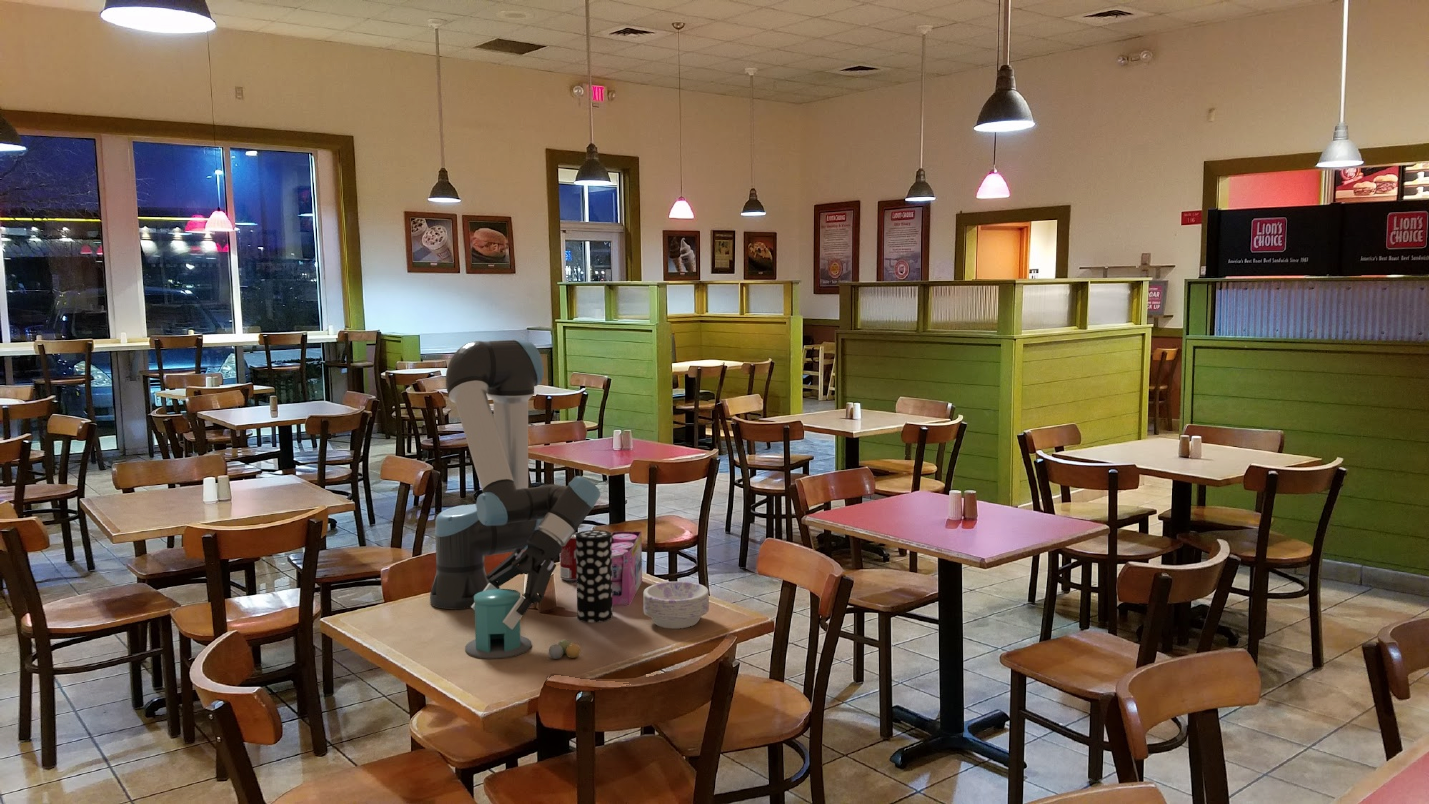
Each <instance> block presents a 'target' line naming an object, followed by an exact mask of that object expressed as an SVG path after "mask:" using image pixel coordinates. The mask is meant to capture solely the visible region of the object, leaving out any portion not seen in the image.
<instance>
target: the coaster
mask: <svg viewBox="0 0 1429 804" xmlns="http://www.w3.org/2000/svg"><path fill="white" fill-rule="evenodd" d="M464 647H465V648H464V650H465V653H466V654H467V655H468V656H470V657H473V658H477V659H483V660H501V659H507V658H512V657H517V656H520V655H522V654H525V653H526V651H527V650H528V651H529V650H530V649H531V648H532V641H531V639H530V638H527V637H525V636H522V635H521V641H520V647H518V648H515V649H512V650H510V651H507V652H506V651H504V639H491V640H490V652H489V653H488V652H484V651H481V650H478V649H476V638H475V639H473V640H471V641H469V642H468V643H466V645H465V646H464ZM528 651H527V652H528ZM524 652H525V653H524ZM519 654H520V655H519Z"/></svg>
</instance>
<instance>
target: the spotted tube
mask: <svg viewBox="0 0 1429 804" xmlns="http://www.w3.org/2000/svg"><path fill="white" fill-rule="evenodd" d="M576 533H577V534H576V573H577V581H576V617H577V620H579V621H580V622H585V623H601V622H606V621H609V620H611V619H612V618H613V614H614V613H613V605H612V536H611V534H612V532H611V531H608V530H601V529H591V530H582V531H579V532H576Z"/></svg>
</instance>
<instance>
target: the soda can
mask: <svg viewBox="0 0 1429 804" xmlns="http://www.w3.org/2000/svg"><path fill="white" fill-rule="evenodd" d="M577 533H578V532H574V534H573V535H572V536H571V538H570V540H569V541H568V542H567V543H566V545H565V546H561V547H562V551H561V552H560V554H559V557H560V558H559V566H560V567H559V568H560V571H559V572H560V573H559V574H560V578H561V579H562V580H564V581H565V582H571V581H573V582H577V573H576V534H577Z"/></svg>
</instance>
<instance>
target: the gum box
mask: <svg viewBox="0 0 1429 804" xmlns="http://www.w3.org/2000/svg"><path fill="white" fill-rule="evenodd" d="M611 536H612V606H630V605H631V603H632V601H633V600H634V597H635V596H636V594H637V592H638V590H639V588H640V586H641V585H642V583H643V558H642V557H643V555H642V554H643V551H642V550H643V548H642V547H643V545H642V531H629V530H627V531H624V530H623V531H621V530H620V531H618V530H617V531H613V532H611Z"/></svg>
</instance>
